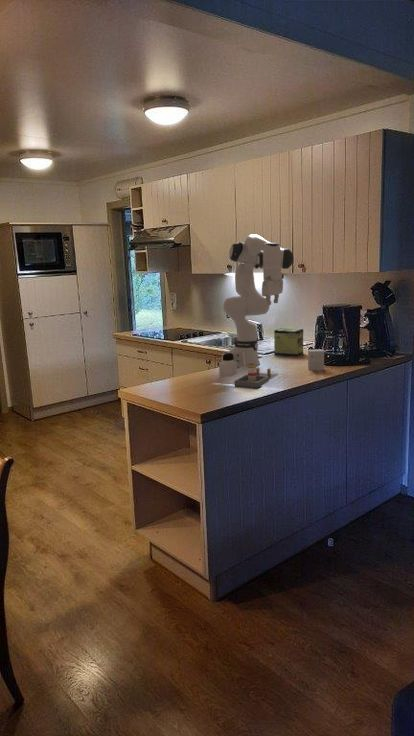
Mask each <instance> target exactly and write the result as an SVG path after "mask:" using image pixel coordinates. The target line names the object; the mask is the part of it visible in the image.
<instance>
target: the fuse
mask: <svg viewBox="0 0 414 736" xmlns="http://www.w3.org/2000/svg"><path fill="white" fill-rule="evenodd" d="M246 367H247V375H248V382H256V368H257V366H256V364H247V366H246Z"/></svg>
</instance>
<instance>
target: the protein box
mask: <svg viewBox="0 0 414 736" xmlns="http://www.w3.org/2000/svg"><path fill="white" fill-rule="evenodd" d="M273 331H274V332H273V333H274V338H273V340H274V342H273V343H274V349H273V351H274V352H273V353H274V356H287V357H298V356H301V355H303V354H304V329H303V328H283V327H281V328H278V329H275V330H273Z"/></svg>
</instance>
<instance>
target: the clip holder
mask: <svg viewBox="0 0 414 736" xmlns="http://www.w3.org/2000/svg"><path fill="white" fill-rule="evenodd" d="M271 368H272V367H271ZM271 368H269V367H268V368H267V369H266V371H267V372H266V373H265V372H261V370H260V369H261V368H260V367H256V375H257V376H269V380H272V379H274V378H275V377H277V376H279V374H278V373H271V371H272V370H271Z"/></svg>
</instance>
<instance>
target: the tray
mask: <svg viewBox="0 0 414 736" xmlns="http://www.w3.org/2000/svg"><path fill="white" fill-rule="evenodd" d="M267 382H269V376H257V375H256V382H248V374H245V375H243V376H241V377H239V378H238V379H235V380H234V388H241V389H243V388H244V389H251V390H252V389H253V390H259V389H261V388H262V385H263V384H266V383H267Z"/></svg>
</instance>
